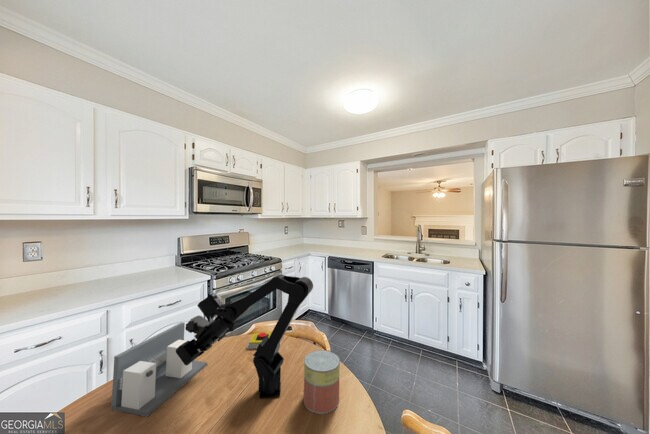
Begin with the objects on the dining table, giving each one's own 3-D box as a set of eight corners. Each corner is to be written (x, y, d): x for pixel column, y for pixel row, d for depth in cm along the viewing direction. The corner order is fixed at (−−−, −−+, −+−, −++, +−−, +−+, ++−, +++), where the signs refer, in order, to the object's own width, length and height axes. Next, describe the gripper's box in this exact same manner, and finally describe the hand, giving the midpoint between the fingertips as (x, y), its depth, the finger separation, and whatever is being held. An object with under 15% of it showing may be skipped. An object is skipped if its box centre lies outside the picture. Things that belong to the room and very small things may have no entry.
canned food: (335, 385, 78) (335, 349, 78) (343, 411, 67) (344, 369, 67) (302, 388, 76) (302, 351, 76) (305, 416, 65) (305, 372, 65)
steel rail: (183, 348, 89) (184, 340, 89) (121, 390, 66) (121, 379, 66) (181, 348, 89) (181, 340, 89) (118, 389, 66) (119, 379, 66)
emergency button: (250, 330, 109) (282, 329, 111) (250, 339, 109) (281, 338, 110) (245, 340, 100) (280, 338, 101) (245, 350, 100) (280, 348, 101)
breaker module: (193, 369, 82) (194, 341, 83) (182, 378, 78) (184, 348, 78) (177, 367, 84) (178, 339, 84) (165, 376, 79) (167, 346, 79)
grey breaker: (156, 397, 69) (158, 363, 70) (140, 410, 65) (142, 373, 65) (138, 393, 71) (140, 360, 71) (121, 406, 66) (123, 370, 66)
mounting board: (207, 364, 88) (208, 325, 88) (147, 416, 63) (149, 361, 64) (179, 361, 90) (181, 322, 90) (111, 409, 66) (114, 356, 66)
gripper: (220, 301, 89) (194, 327, 91) (182, 320, 71) (150, 352, 73) (237, 324, 88) (210, 350, 89) (203, 349, 69) (170, 381, 71)
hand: (187, 356), depth 80 cm, fingers closed, pressing on breaker module
